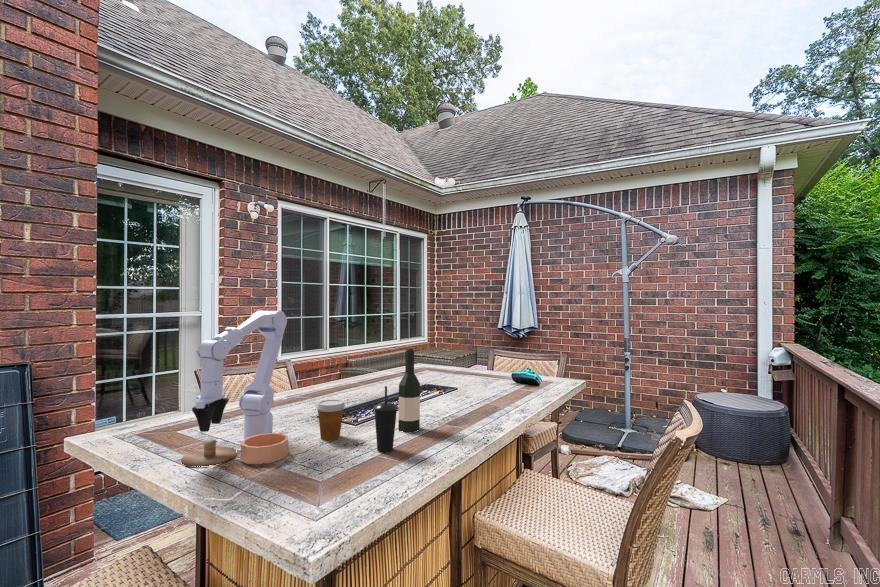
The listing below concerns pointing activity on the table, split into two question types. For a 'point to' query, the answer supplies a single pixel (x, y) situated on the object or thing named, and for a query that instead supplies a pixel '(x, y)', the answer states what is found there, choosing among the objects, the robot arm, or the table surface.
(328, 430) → the disposable coffee cup
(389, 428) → the drinking cup
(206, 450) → the lid
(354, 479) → the table surface
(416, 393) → the wine bottle
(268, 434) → the bowl
